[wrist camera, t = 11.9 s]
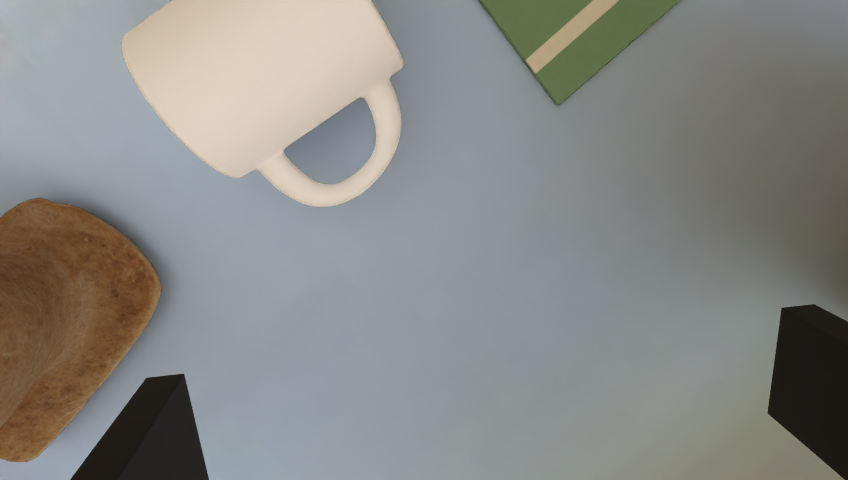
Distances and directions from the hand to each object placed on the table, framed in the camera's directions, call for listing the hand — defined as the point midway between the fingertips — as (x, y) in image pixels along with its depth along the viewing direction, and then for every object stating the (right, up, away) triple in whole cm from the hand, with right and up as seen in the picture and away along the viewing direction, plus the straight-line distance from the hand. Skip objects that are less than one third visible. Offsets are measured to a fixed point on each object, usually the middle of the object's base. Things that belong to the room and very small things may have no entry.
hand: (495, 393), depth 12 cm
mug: (-8, +12, +18) cm, 23 cm away
